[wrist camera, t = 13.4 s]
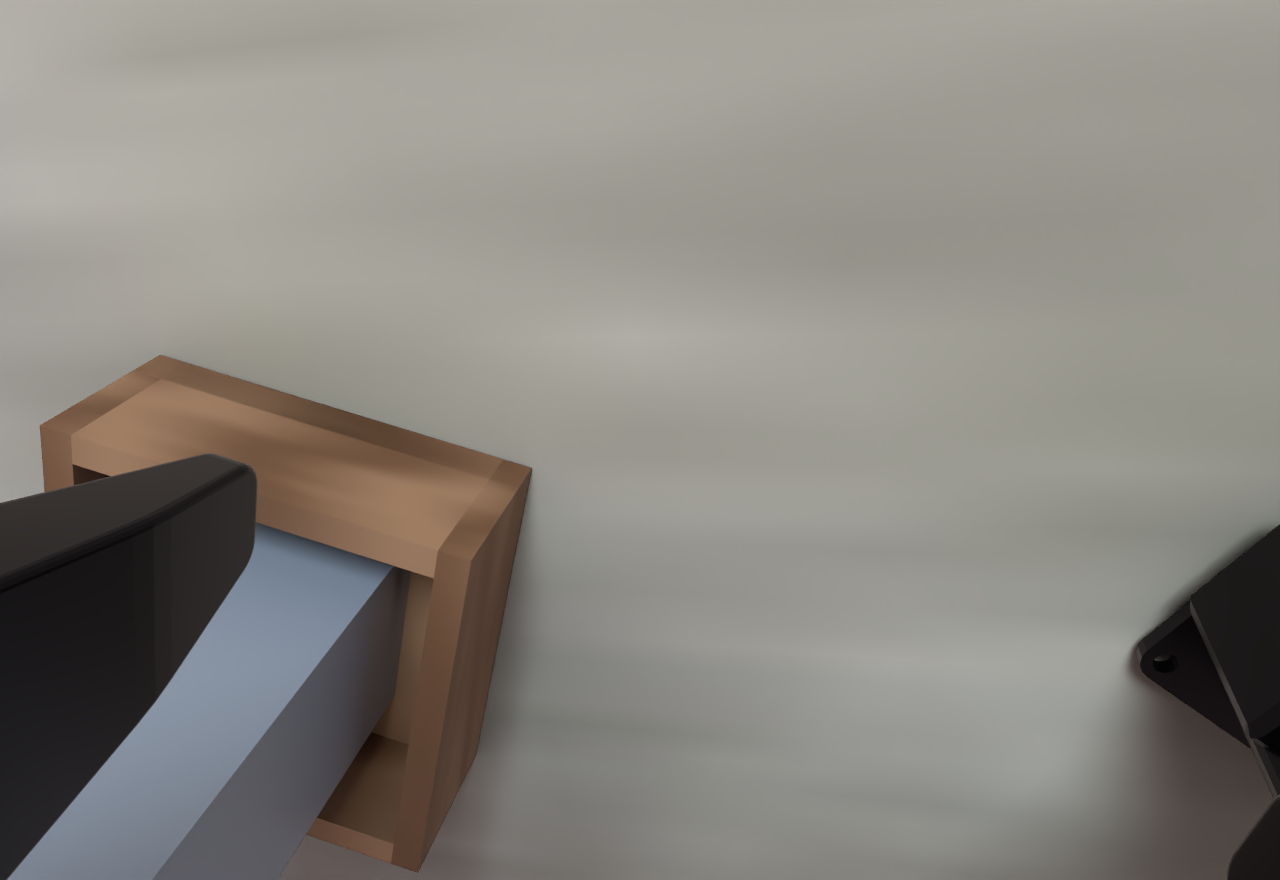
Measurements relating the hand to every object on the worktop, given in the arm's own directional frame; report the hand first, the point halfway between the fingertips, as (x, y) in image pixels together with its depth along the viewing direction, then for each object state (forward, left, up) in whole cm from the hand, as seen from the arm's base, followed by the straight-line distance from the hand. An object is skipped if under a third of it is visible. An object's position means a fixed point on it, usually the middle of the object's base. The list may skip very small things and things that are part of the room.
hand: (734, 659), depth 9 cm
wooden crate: (+5, +14, -13) cm, 20 cm away
